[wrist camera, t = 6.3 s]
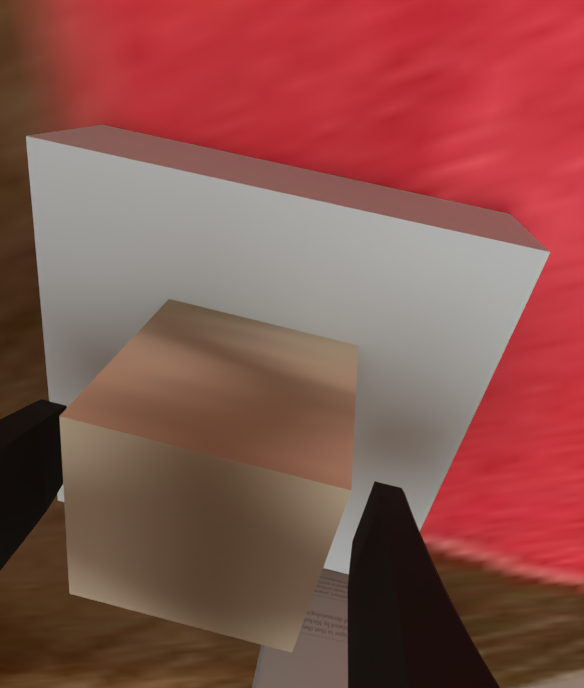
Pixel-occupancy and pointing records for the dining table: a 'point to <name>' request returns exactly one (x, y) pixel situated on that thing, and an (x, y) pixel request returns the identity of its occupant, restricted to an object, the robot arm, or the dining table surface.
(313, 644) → the supplement box
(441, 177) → the dining table surface
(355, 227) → the grey block
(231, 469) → the birch cube
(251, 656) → the dining table surface
